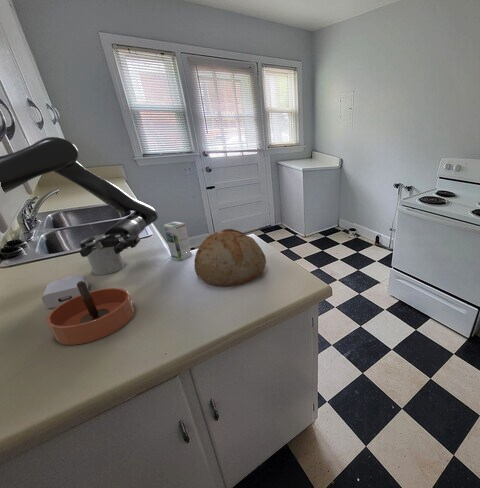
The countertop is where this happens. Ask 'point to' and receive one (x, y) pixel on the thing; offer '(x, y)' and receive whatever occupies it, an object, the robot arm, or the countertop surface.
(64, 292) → the white drawer box
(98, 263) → the white cylinder
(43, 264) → the countertop surface
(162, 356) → the countertop surface
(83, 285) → the paper towel holder
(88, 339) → the bowl
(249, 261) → the bread
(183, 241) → the syrup box
